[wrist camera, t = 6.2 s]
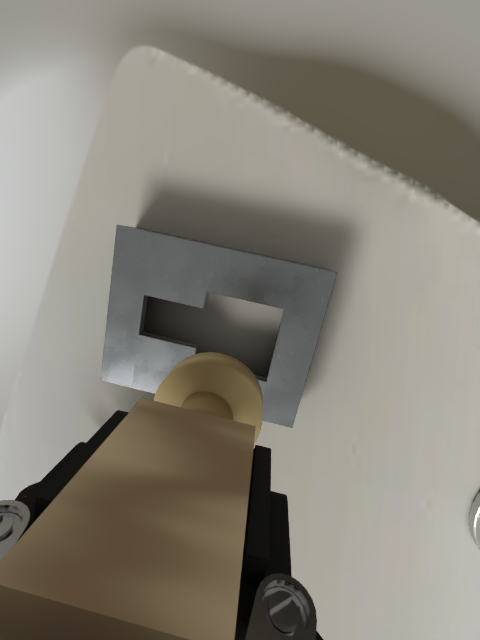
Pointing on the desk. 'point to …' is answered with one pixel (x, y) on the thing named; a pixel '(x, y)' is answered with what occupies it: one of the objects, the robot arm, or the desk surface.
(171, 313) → the desk surface
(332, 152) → the desk surface
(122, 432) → the keyhole peg
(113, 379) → the keyhole plate
